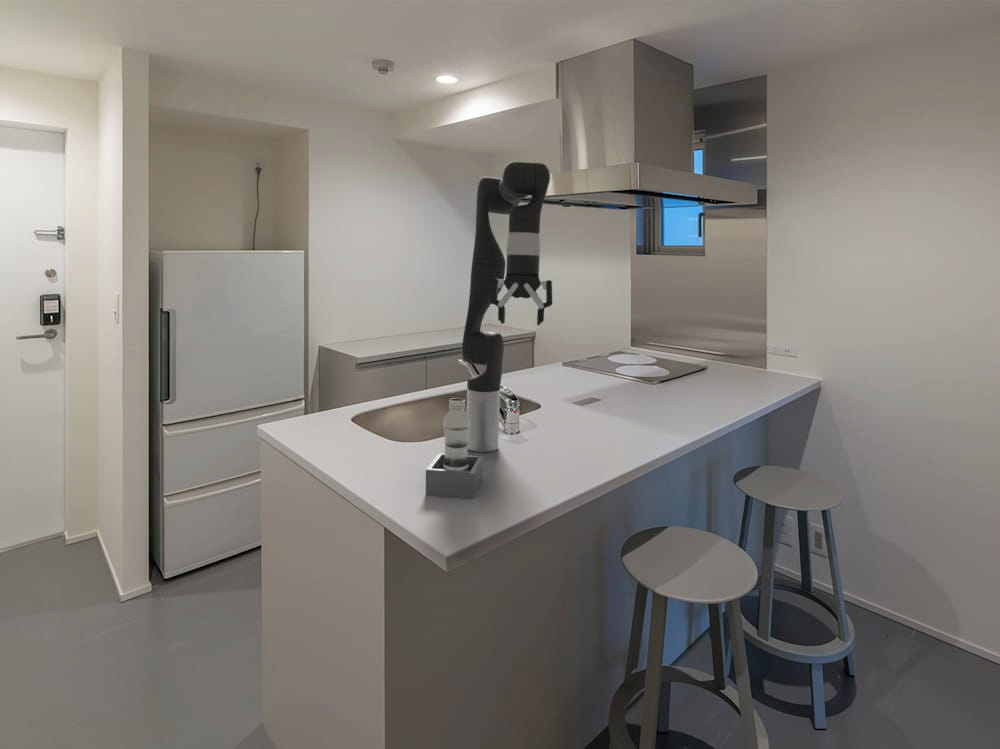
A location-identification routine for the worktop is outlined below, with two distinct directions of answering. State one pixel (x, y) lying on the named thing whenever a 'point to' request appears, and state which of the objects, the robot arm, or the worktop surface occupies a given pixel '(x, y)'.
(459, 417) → the plastic bottle
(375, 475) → the worktop surface
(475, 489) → the storage caddy
